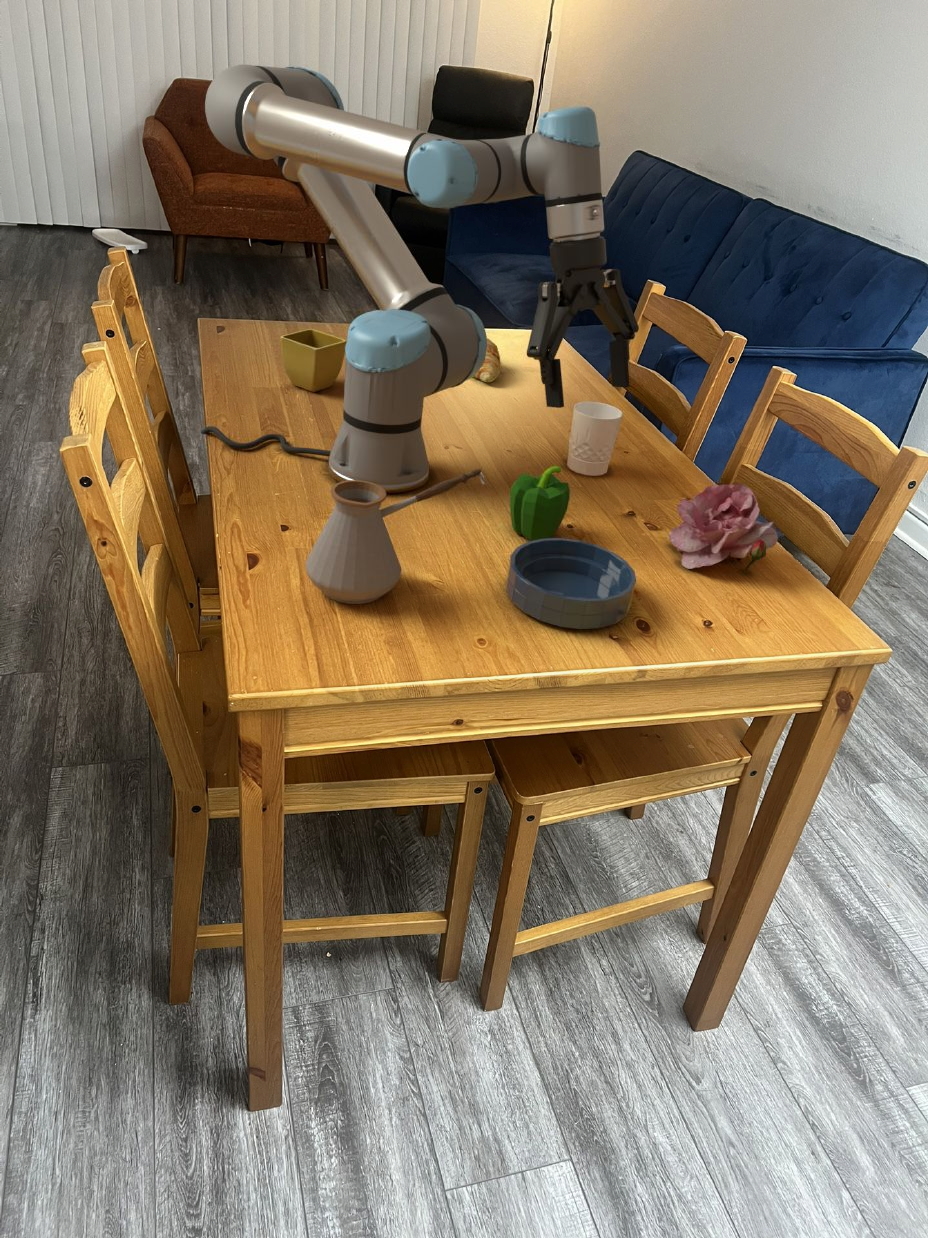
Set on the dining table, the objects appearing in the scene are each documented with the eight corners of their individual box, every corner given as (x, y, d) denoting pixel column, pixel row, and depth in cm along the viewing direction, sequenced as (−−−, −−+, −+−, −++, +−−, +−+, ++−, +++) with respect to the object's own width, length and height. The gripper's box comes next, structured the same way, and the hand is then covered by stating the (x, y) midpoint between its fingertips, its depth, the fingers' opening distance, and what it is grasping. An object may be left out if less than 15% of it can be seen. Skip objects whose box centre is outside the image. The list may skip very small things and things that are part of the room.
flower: (698, 504, 141) (713, 452, 133) (785, 552, 135) (806, 501, 127) (641, 556, 134) (654, 505, 126) (731, 610, 127) (750, 559, 120)
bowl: (504, 623, 112) (509, 591, 109) (506, 561, 125) (511, 531, 123) (634, 640, 112) (642, 608, 110) (622, 576, 125) (629, 546, 123)
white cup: (608, 481, 152) (621, 422, 147) (560, 472, 153) (571, 413, 148) (611, 463, 159) (623, 406, 154) (565, 455, 160) (576, 398, 154)
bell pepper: (512, 547, 128) (523, 480, 123) (498, 520, 135) (508, 455, 130) (571, 548, 130) (584, 481, 125) (554, 521, 137) (566, 457, 132)
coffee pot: (316, 617, 108) (321, 498, 100) (295, 568, 117) (298, 455, 109) (487, 600, 116) (504, 489, 108) (455, 555, 125) (469, 449, 117)
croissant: (500, 403, 188) (524, 369, 185) (461, 379, 183) (484, 344, 180) (470, 366, 205) (491, 335, 202) (433, 344, 199) (454, 311, 197)
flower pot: (345, 387, 175) (348, 339, 171) (315, 398, 169) (317, 348, 164) (309, 375, 179) (310, 327, 174) (278, 385, 172) (278, 336, 168)
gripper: (528, 247, 117) (545, 417, 125) (658, 224, 131) (665, 379, 139) (489, 251, 123) (507, 413, 131) (618, 229, 136) (627, 377, 145)
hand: (589, 396), depth 135 cm, fingers open, 13 cm apart
